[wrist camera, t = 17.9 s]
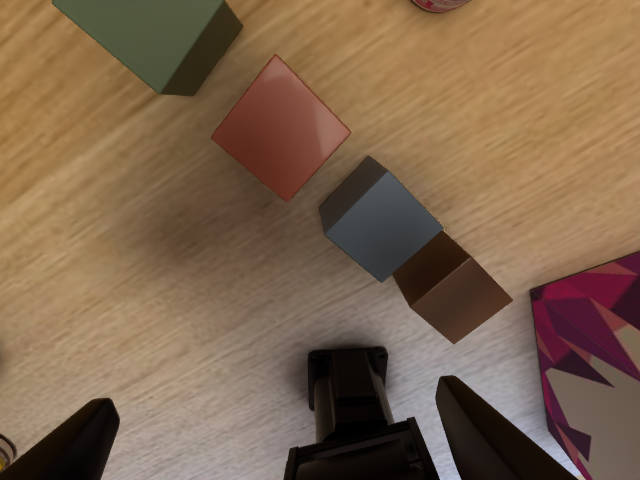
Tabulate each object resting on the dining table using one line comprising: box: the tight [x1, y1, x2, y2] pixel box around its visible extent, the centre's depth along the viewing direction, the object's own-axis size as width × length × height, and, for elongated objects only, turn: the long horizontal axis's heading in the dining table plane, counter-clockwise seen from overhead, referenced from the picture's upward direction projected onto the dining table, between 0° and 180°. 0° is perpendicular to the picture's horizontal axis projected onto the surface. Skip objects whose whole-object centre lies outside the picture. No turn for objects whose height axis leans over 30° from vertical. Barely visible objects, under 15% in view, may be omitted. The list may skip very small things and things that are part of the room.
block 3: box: [319, 156, 443, 283], centre depth 18 cm, size 4×4×4 cm
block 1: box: [52, 0, 243, 96], centre depth 14 cm, size 4×4×4 cm
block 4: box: [392, 230, 513, 344], centre depth 20 cm, size 4×4×4 cm
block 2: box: [211, 54, 351, 202], centre depth 16 cm, size 4×4×4 cm
